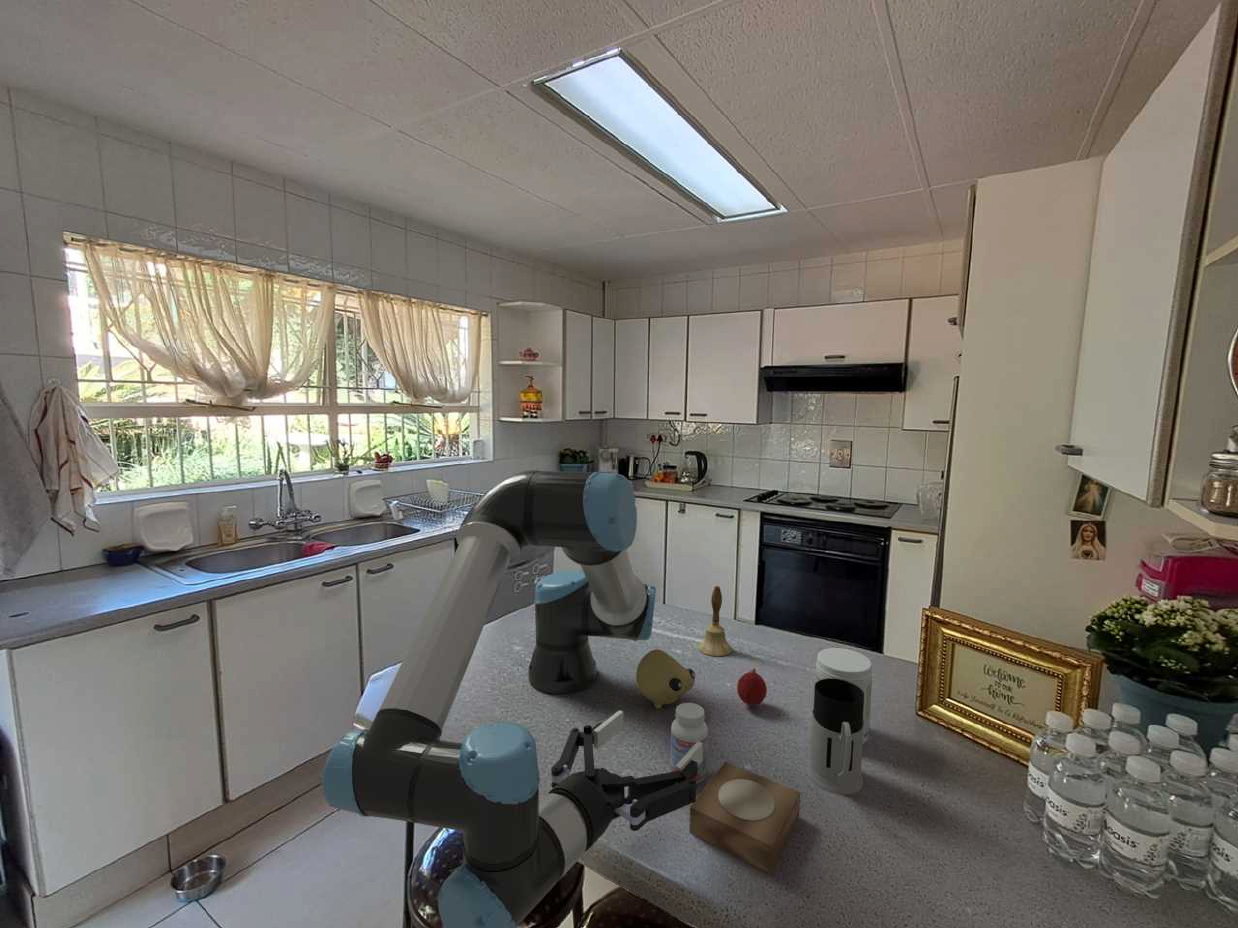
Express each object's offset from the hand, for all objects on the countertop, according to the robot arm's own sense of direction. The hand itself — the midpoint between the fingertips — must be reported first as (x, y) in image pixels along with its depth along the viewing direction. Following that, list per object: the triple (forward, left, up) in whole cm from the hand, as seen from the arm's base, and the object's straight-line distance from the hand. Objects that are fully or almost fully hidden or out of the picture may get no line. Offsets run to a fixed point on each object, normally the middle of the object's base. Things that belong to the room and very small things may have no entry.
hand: (658, 734), depth 81 cm
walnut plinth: (+12, +5, -12) cm, 18 cm away
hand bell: (-16, +54, -13) cm, 58 cm away
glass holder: (+21, +21, -13) cm, 32 cm away
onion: (+1, +35, -13) cm, 37 cm away
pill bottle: (0, +10, -13) cm, 16 cm away
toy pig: (-14, +26, -13) cm, 32 cm away
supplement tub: (+18, +36, -13) cm, 42 cm away
